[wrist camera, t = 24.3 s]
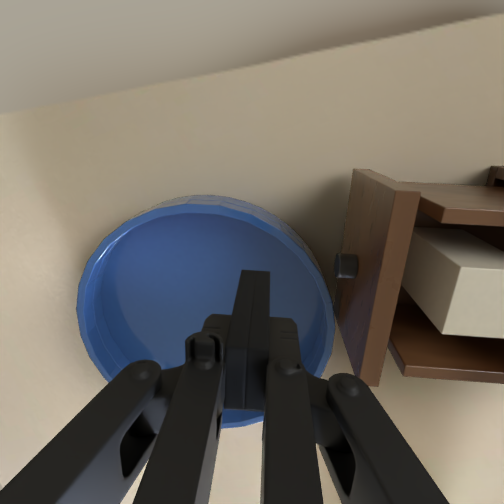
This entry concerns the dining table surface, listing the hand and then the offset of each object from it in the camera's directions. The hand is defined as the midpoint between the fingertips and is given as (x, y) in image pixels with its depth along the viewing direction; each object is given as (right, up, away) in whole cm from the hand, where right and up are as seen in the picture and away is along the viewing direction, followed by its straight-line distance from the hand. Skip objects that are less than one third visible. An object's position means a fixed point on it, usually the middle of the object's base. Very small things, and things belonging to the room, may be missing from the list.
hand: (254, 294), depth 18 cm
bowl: (-4, -3, +12) cm, 13 cm away
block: (+13, +2, +7) cm, 15 cm away
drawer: (+12, +3, +8) cm, 15 cm away
